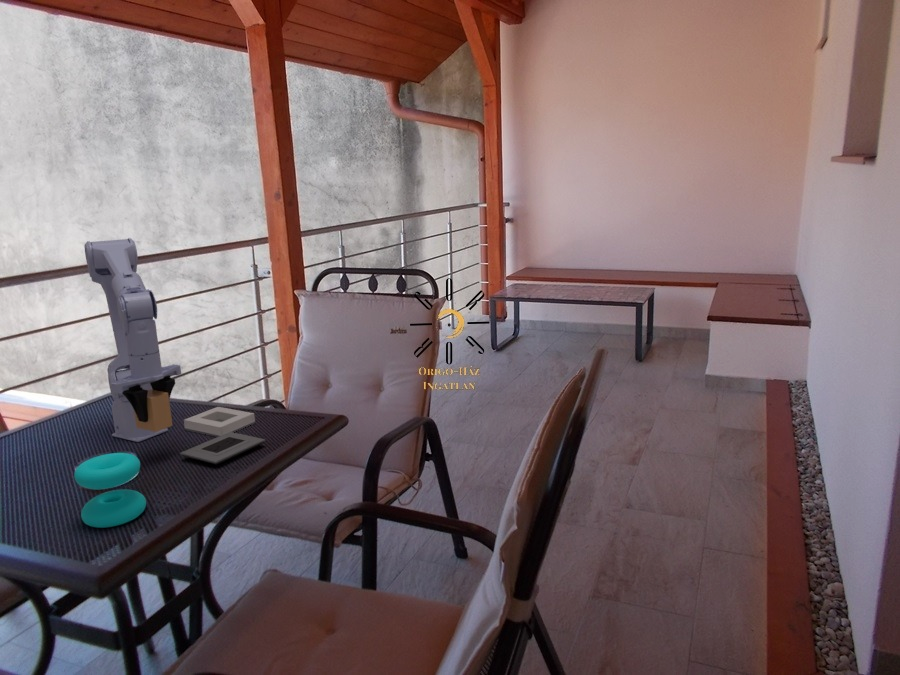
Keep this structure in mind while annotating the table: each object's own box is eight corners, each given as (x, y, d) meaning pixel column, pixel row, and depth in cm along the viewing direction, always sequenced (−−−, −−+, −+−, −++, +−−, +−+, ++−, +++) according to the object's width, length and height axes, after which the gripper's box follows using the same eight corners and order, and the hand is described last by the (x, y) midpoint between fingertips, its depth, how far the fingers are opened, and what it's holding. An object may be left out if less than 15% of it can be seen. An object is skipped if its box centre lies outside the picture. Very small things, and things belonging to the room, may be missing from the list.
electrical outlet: (231, 440, 151) (230, 430, 151) (266, 448, 146) (264, 437, 146) (181, 462, 141) (179, 451, 140) (216, 471, 135) (215, 460, 135)
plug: (136, 427, 140) (131, 394, 139) (153, 421, 144) (148, 389, 142) (155, 432, 137) (150, 398, 136) (172, 425, 141) (168, 392, 139)
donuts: (88, 479, 108) (62, 464, 115) (98, 537, 111) (72, 519, 117) (149, 458, 116) (122, 445, 122) (158, 513, 118) (130, 497, 124)
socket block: (185, 430, 158) (183, 419, 157) (219, 416, 166) (218, 406, 166) (221, 438, 152) (220, 427, 151) (255, 423, 160) (254, 413, 160)
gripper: (123, 363, 129) (134, 432, 132) (187, 346, 141) (195, 409, 144) (100, 359, 132) (111, 426, 135) (164, 343, 144) (173, 404, 148)
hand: (153, 417), depth 140 cm, fingers closed on plug, 4 cm apart
